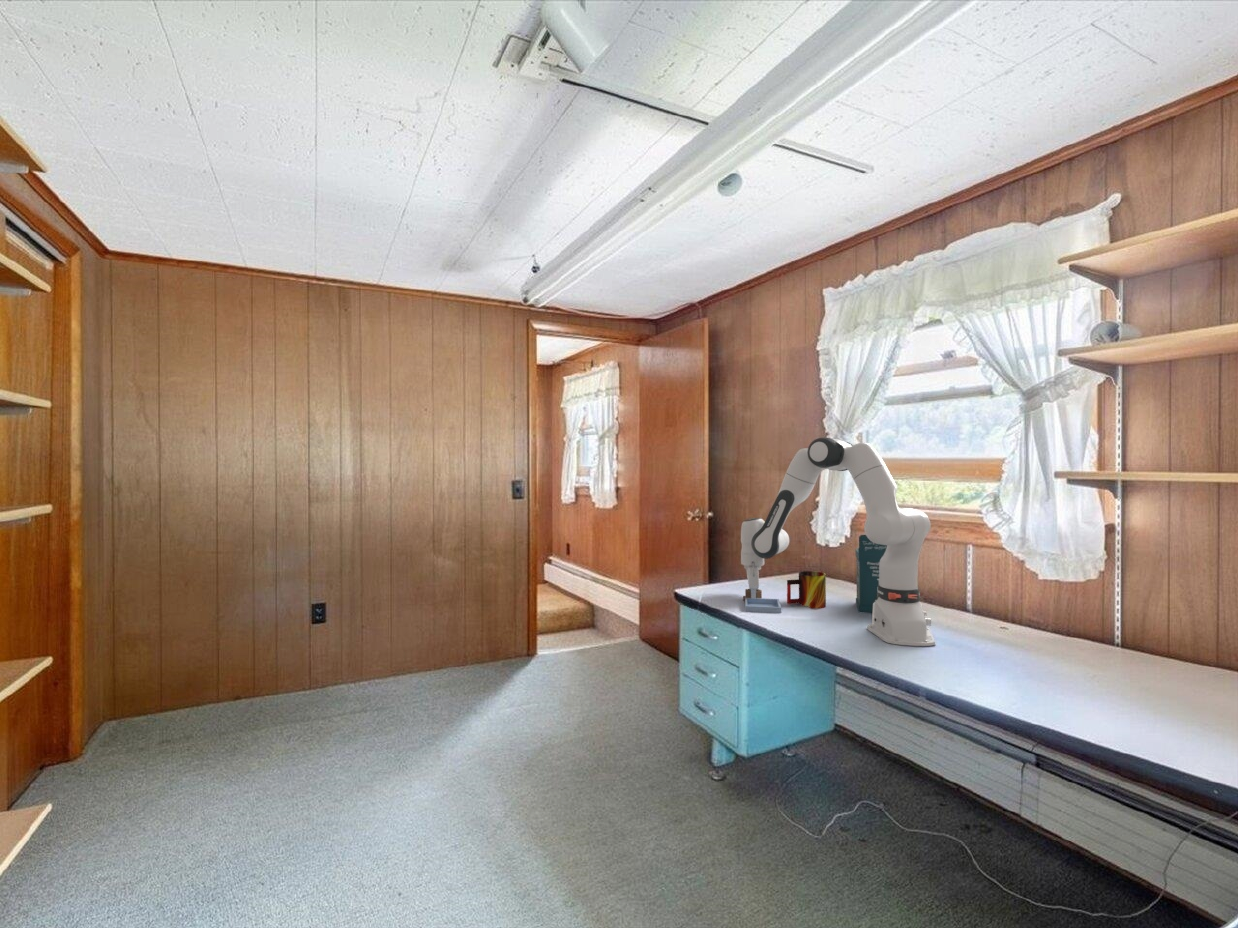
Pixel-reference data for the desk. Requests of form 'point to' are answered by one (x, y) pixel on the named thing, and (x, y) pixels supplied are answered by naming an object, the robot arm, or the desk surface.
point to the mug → (809, 589)
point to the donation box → (868, 573)
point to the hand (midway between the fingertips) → (753, 595)
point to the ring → (748, 594)
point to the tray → (762, 605)
